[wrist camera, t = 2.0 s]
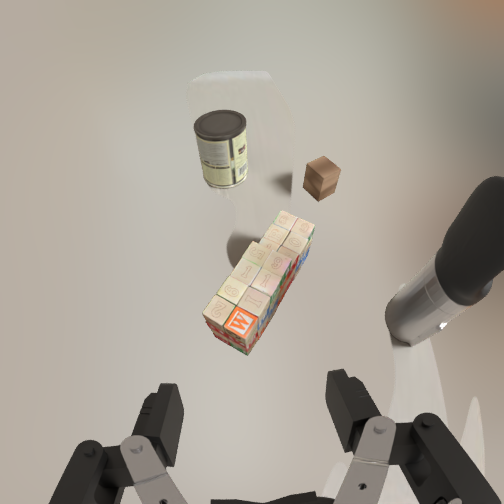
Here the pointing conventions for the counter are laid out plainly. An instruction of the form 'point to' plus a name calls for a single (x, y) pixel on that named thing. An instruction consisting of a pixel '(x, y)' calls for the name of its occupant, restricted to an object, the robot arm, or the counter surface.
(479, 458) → the counter surface
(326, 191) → the walnut block
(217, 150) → the coffee can
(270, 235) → the stack of blocks
